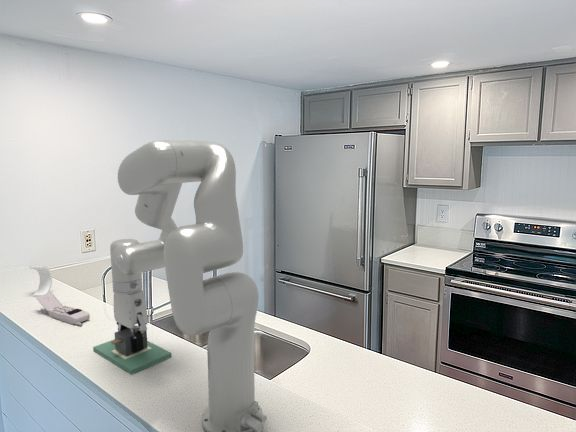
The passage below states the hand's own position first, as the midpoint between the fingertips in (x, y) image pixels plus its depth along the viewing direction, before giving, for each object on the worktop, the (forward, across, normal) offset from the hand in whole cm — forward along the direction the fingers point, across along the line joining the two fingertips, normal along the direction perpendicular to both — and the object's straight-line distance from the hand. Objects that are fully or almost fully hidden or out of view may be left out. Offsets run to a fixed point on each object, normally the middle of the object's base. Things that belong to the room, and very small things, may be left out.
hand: (131, 346), depth 117 cm
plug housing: (0, 0, 0) cm, 0 cm away
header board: (+2, 0, 0) cm, 2 cm away
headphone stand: (+2, +72, -4) cm, 72 cm away
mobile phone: (+3, +42, 0) cm, 42 cm away
